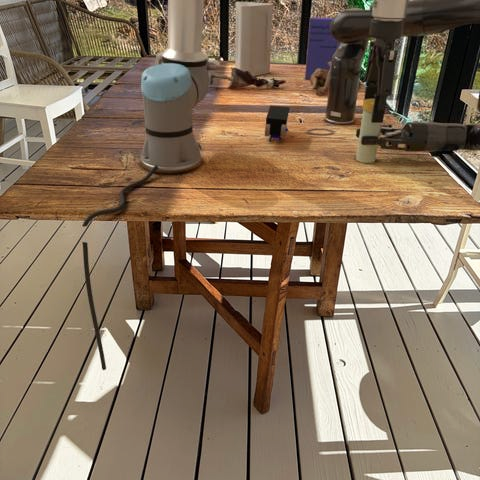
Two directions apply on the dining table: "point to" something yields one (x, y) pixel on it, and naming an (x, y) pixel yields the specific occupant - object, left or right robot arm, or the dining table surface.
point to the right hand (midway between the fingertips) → (359, 136)
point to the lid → (368, 104)
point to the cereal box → (319, 45)
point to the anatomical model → (321, 80)
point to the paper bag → (253, 37)
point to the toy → (159, 55)
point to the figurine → (246, 79)
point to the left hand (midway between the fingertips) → (372, 117)
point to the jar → (367, 129)
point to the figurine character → (276, 122)
